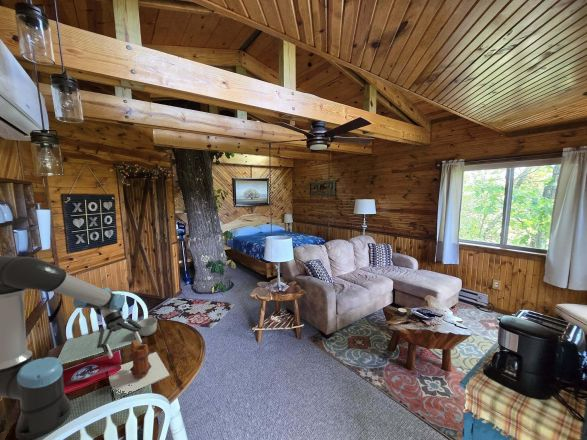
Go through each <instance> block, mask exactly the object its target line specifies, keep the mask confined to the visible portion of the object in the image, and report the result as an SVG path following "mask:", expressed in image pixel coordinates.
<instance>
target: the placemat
mask: <svg viewBox="0 0 587 440" xmlns="http://www.w3.org/2000/svg"><path fill="white" fill-rule="evenodd" d="M148 362H149V363H150V365H151V368H150V369H149V372H148V374H147V375H145V376H144V377H141V378H134V376H133V374H132V372H131V371H130V369H131V368H132V367H133V360H132V361H129V362H126V363H123V364H120V366H121V369H120V370H119V371H117V373H115V374H113V375H111V376H109V377H108V380H109V384H110V387H111V386H113V385H115V387H113V389H116V390H118V389H119V390H118V391H119V392H120V390H121V393H122V391H125V392H124V393H127V394H128V392H129V391H132V392H133V391H136V390H138V389H140V388H142V389H144V388H143V387H145V388H146V386H147V387H148V385H149V386H151V385H153V384H155V383H157V382H159V381H162V380H163V379H166V378H168V377H170V376H171V375H170V373H169V371H168V369H167V368H166V366H165V364H164V363H163V361H162V359H161V358H160V356H159V354H158V352H157V351H155V352H151V353H150V354H149V355H148ZM129 384H130V386H128V385H129ZM131 385H132V386H131ZM140 390H141V389H140ZM113 391H114V390H113ZM118 391H117V392H116V393H118ZM138 391H139V390H138ZM136 392H137V391H136ZM130 393H131V392H130ZM118 394H120V393H118ZM123 398H124V397H122V398H121V399H123ZM118 399H119V400H121V399H120V398H118ZM116 400H117V399H116ZM113 401H114V402H116V401H115V400H114V399H113ZM117 401H118V400H117Z"/></svg>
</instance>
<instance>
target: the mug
mask: <svg viewBox="0 0 587 440" xmlns="http://www.w3.org/2000/svg"><path fill="white" fill-rule="evenodd" d="M130 353H131V354H130V356H129V357H130V358H131V360H132V361H133V367H132V368H131V369H130V371H131V372H132V374H133V376H134V378H141V377H144V376H145V375H147V374H148V372H149V369H150V368H151V365H150V363H149V362H148V355H149V354H152V352H151V351H150V349H149V347H148V345H147V344H146V343H141V344H139V343H138V341H137V339H133V340H131V343H130Z"/></svg>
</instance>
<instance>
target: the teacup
mask: <svg viewBox="0 0 587 440" xmlns="http://www.w3.org/2000/svg"><path fill="white" fill-rule="evenodd" d="M137 323H138V324H139V325H140V326H142V328H141V330H140V334H141V337H142V336H143V337H148V336H150V335H151V336H152V335H153V334H154V333H155V332H156V331H157V329H158V328H157V327H158V319H157V318H156V317H147V318H146V317H145V318H143V319H141V320H139V321H138V322H137ZM132 333H133V334H135V332H132Z"/></svg>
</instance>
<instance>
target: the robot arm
mask: <svg viewBox="0 0 587 440" xmlns="http://www.w3.org/2000/svg"><path fill="white" fill-rule="evenodd" d="M27 290H35V291H40V292H45V293H51V292H54V293H57V294H60V295H64V296H65V297H69V298H72V300H73V301H72V304H73V306H74V307H75V308H76V309H87V308H88V309H97V310H98V309H99V311H100V314H101V316H102V318H103V321H104V323H105V326H101V327H100V328H99V329H98V330H99V336H98V341H97V346H96V348H97V349H100V348H101V349H102V350H103V352H104V354H107V355H108V358H109V359H112V358H113V357H114V355H113V352H112V349H111V348H110V346H109V343H108V342H109V341H108V340H109V338H111V337H110V336H111V335H112V333H113V332H117V331H120V330H122V329H123V330H128V331H129V332H132V333H133V332H135V333H134V336H135V338H136V339H137V341H138V343H139V344H143V340H142V338H141V337H142V335H141V334H140V330H141V328H142V326H140V325H139V324H138V322H136V321H135V320H133V319H132V317H131V316H127V317H126V318H123V315H122V313H121V311H120V309H122V308H123V307H124V305H125V302H126V298H125V295H123V294H120V293H113V292H112V290H111V288H109V287H103V288H101V287H100V286H97V285H94V284H91V283H89V282H87V281H84V280H82V279H81V278H78V277H75V276H73V275H70V274H68V272H67V270H65V269H64V268H62V267H59V266H57V265H55V264H52V263H50V262H48V261H46V260H42V259H40V258H37V257H34V256H33V257H32V256H19V255H18V256H16V255H15V256H14V255H9V254H7V255H0V398H4V399H5V398H6V399H13V400H19V403H20V404H19V405H20V415H19V417H18V420H17V423H16V427H15V438H16V439H18V440H33V439H37V438H39V437H42V436H45V435H46V434H49V433H51V432H52V431H53V430H55V429H57V428H58V427H60V426H61V425H62V424H63V423H64V422H65V421H66V420H67V419H68V418H69V417H70V415H71V413H72V409H73V407H72V404H71V401H70V400H69V398H68V397H67V395H66V394H65V386H64V371H63V370H64V368H63V365H62V364H63V363H62V361H61V359H59V358H57V357H53V356H45V357H44V358H42V357H41V358H38V359H33V358H34V355H33V351H31V350H29V349H28V350H27V335H26V333H27V332H26V313H25V296H24V295H25V294H24V293H26V291H27ZM125 322H126V323H125ZM106 330H108V332H107V335H106V337H105V339H104V338H103V337H104V333H105V331H106ZM103 339H104V341H103ZM136 339H135V340H136Z"/></svg>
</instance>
